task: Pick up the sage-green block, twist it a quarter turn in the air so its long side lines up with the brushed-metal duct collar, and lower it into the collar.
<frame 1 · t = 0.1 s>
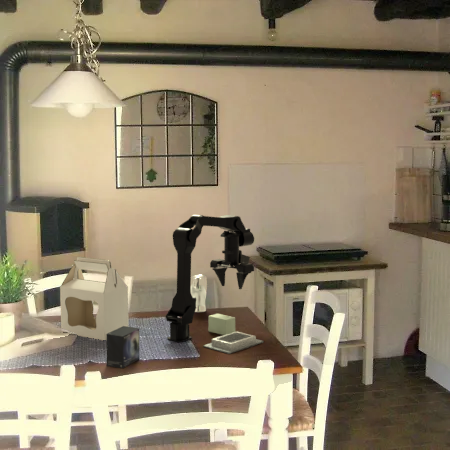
hand: (231, 287, 243), 14 cm above the table, fingers open, 9 cm apart
duct collar: (233, 344, 217), on the table
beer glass: (198, 311, 267), on the table
green block: (221, 332, 233), on the table
gable box: (95, 333, 233), on the table
small box: (123, 363, 198), on the table
white cup: (83, 319, 253), on the table
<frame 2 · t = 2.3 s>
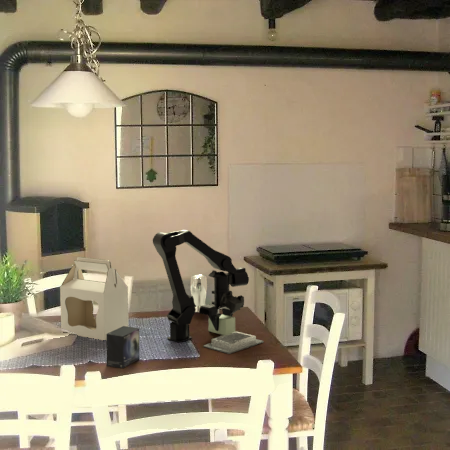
hand: (221, 329, 233), 1 cm above the table, fingers closed on green block, 5 cm apart
green block: (221, 332, 233), on the table, touching gripper
everything else where it was.
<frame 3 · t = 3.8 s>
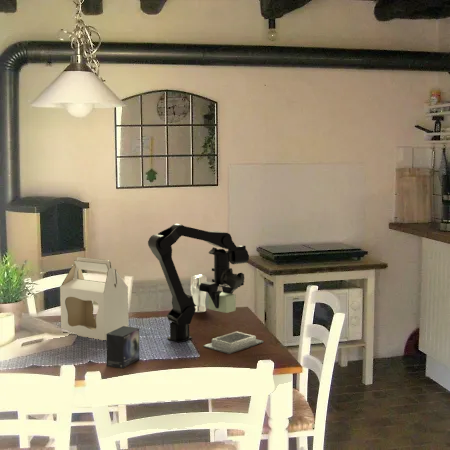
hand: (222, 307, 232), 9 cm above the table, fingers closed on green block, 5 cm apart
green block: (222, 309, 232), point 8 cm above the table, touching gripper
everything else where it was.
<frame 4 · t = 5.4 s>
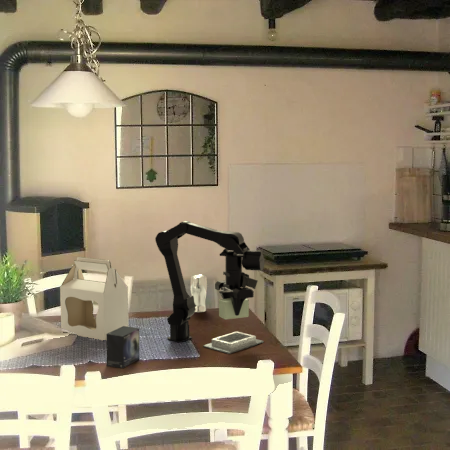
hand: (233, 313, 216), 11 cm above the table, fingers closed on green block, 5 cm apart
green block: (233, 316, 216), point 10 cm above the table, touching gripper
everything else where it was.
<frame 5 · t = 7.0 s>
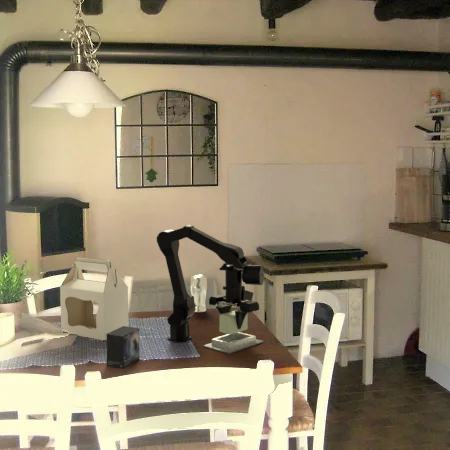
hand: (233, 327, 217), 6 cm above the table, fingers closed on green block, 5 cm apart
green block: (233, 330, 217), point 5 cm above the table, touching gripper
everything else where it was.
when the fingers open (3 cm above the table, at t = 8.1 s): green block drops 1 cm, resting on duct collar.
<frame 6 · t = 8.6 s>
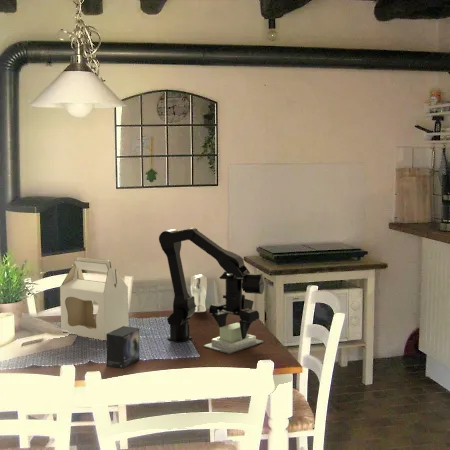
hand: (233, 336, 217), 3 cm above the table, fingers open, 9 cm apart
green block: (233, 343, 217), resting on duct collar
everything else where it was.
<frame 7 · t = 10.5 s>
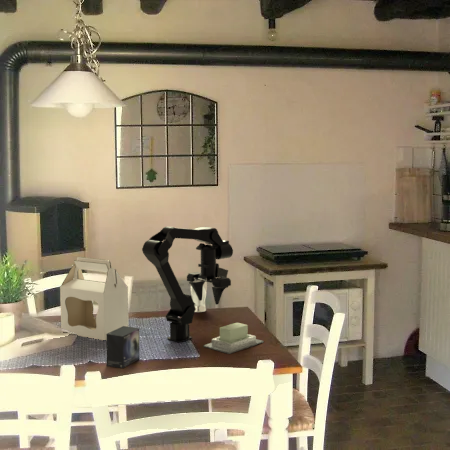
hand: (208, 302, 233), 11 cm above the table, fingers open, 9 cm apart
nothing on the table moved.
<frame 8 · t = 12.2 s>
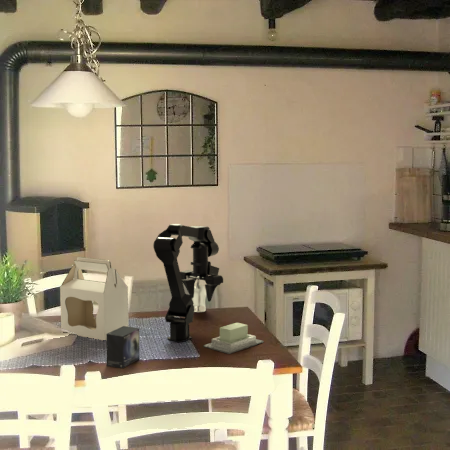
hand: (200, 299, 238), 11 cm above the table, fingers open, 9 cm apart
nothing on the table moved.
at the end: green block 0.0 cm off-centre on the duct collar, point 0.5 cm above the duct collar's base; green block tilted 0°; the gripper is holding nothing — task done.
